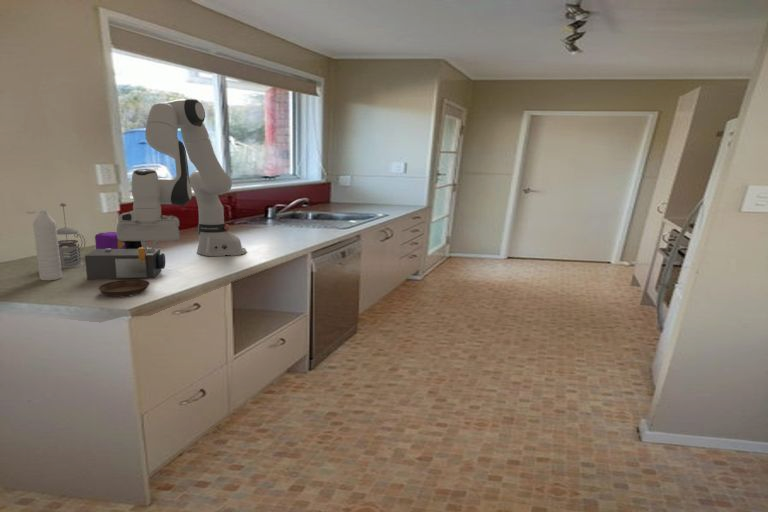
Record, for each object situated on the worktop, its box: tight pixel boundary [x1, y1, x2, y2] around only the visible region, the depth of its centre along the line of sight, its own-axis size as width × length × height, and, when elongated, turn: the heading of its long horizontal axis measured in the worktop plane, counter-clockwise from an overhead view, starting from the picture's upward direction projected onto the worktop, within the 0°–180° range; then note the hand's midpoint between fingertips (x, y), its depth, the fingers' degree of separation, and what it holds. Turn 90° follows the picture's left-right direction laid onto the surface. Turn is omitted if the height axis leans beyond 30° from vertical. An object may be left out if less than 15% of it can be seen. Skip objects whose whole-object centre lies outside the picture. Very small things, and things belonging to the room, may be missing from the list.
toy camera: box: [94, 231, 126, 250], centre depth 201 cm, size 11×14×10 cm
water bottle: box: [26, 208, 63, 282], centre depth 155 cm, size 9×6×25 cm
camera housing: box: [84, 248, 166, 281], centre depth 167 cm, size 24×12×10 cm, turn 103°
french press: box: [56, 202, 86, 269], centre depth 176 cm, size 10×12×25 cm
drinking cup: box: [124, 241, 143, 249], centre depth 185 cm, size 8×8×20 cm
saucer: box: [97, 279, 150, 298], centre depth 148 cm, size 15×15×3 cm
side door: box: [115, 247, 147, 278], centre depth 160 cm, size 10×2×11 cm, turn 104°
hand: (150, 252), depth 161 cm, fingers closed
